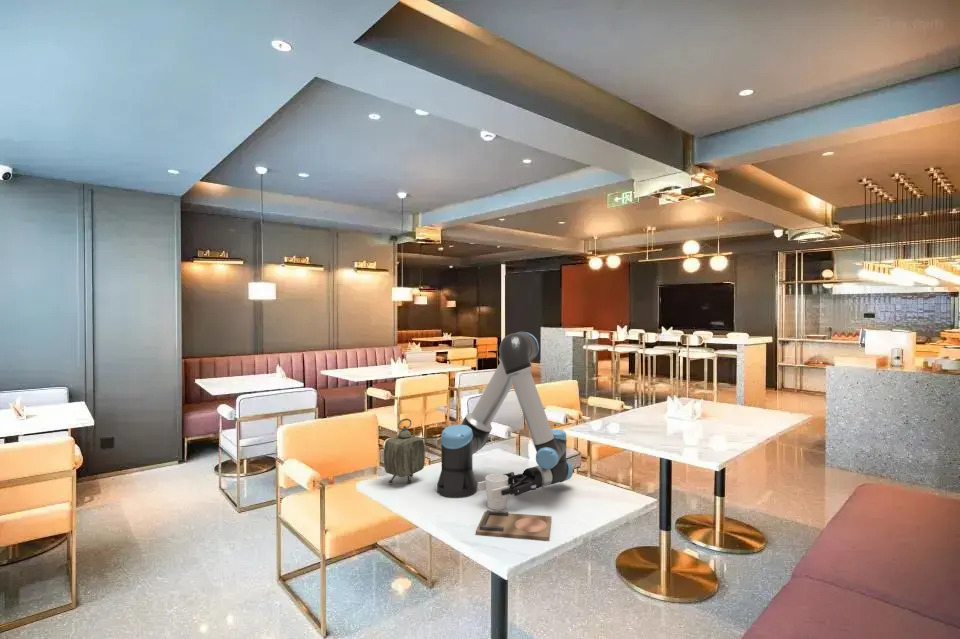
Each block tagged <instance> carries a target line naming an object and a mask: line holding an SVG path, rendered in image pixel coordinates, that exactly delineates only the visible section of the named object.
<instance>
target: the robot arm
mask: <svg viewBox="0 0 960 639" xmlns="http://www.w3.org/2000/svg"><path fill="white" fill-rule="evenodd" d="M499 344H500V345H499V349H498V351H499V356H498V361H499V364H498V365H497V368H496V369H495V371H494V372H493V374H492V376H491V378H490V380H489V382H488V384H487V385H486V386H485V389H484V390H483V392H482V394H481V396H480V397H479V399H478V401H477V404H476V405H475V407H474V408H473V409H472V410H473V411H471V412H470V413H467V414H465V417H464V418H463V420H462V422H461V424H453V425H449V426H447V427H445V428H444V429H443V430H442V431H441V436H440V437H441V438H440V444H441V446H440V449H441V452H440V453H441V455H440V456H441V459H440V460H441V461H440V462H441V471H440V475H439V477H438V480H437V484H436V492H437V493H438V495H440V496H443V497H445V498H446V497H447V498H454V499H455V498H456V499H457V498H464V497H465V498H466V497H470V496H472V495H474V494H477V492H478V491H480V492H482V491H486V480H483V481H479V482H477V479H476V476H475V473H474V470H473V468H474V467H473V455H474V454H475V453H477V452H478V451H480V450H481V449H483V448H484V447H485V446H486V444H487V443H488V440H489V436H490V433H491V431H492V429H493V427H492V422H493V420H494V419H495V417H496V416H497V413H498V411H499V410H500V408H501V406H502V405H503V403H504V401H505V400H506V398H507V395H509V392H510V390H511V388H512V387H513V390H514V392H515V395H516V397H517V401H518V403H519V406H520V408H521V412H522V414H523V417H524V420H525V422H526V425H527V429H528V431H529V434H530V437H531V440H532V443H533V445H534V448H535V451H536V453H535V462H536V464H537V465H536V466H532V467H527V468H525V469H524V470H523V471H522V473H517V474H515V472H513V471H512V472H508V473H503V475H506V476H508V486H505V487H501V488H497V489H493V490H492V498H497V497H501V496H504V495H507V496H508V495H511V496H513V495H514V497H518V496H521V495H523V494H526V493H528V492H530V491H531V492H532V491H536V490H537V489H539V488H545V487H547V486H550V485H554V484H555V485H556V484H558V483H563V482H566V481H568V480H570V479H571V478H572V477H573V475H574V469H573V467H572V464H571V462H570V461H569V460H567V442H568V440H567V433H566V431H565V430H562V429H552V427H551V425H550V423H549V420H548V417H547V416H548V415H547V414H546V411H545V408H544V406H543V403H542V400H541V397H540V395H539V391H538V388H537V386H536V383H535V381H534V380H535V379H534V378H533V375H532V371H531V369H532V367H533V366H532V363H531V362H532V361H533V360H534V359H535V358H536V357H537V355H538V353H539V350H540V347H539V346H540V345H539V342H538V339H537V338H536V337H535V336H534V335H533V334H532V333H529V332H526V331H518V332H515V333H510V334H507V335H505V336H504V337H503V339H502V340H501V342H500V343H499Z"/></svg>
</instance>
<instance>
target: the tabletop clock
mask: <svg viewBox="0 0 960 639" xmlns="http://www.w3.org/2000/svg"><path fill="white" fill-rule="evenodd" d="M404 421H408V422H409V425H408V426H406V425H404V426H402V427H403V428H401V427H400V425H401V423H402V422H404ZM411 426H412V420H411V419H410V418H403V419H401V420H400V421H399V422H398V423H397V428H398V429H399V430H400V431H399V433H398V435H394V436H392V437H390V438H388V439H386V440H385V443H384V446H383V466H384V467H383V468H384V470H385V473H387V474H390V475H392V477H391V479H390V480H388V484H389V483H392V484H393V482H394V479H395V478H396V477H400V478H406V477H407V480H406V482H407V484H411V483H412V480H411V478H412V477H414V474H416V473H418V472H420V471H422V470H423V469H424V467H425V461H426V460H425V459H426V451H425V450H426V448H425V443H424V442H425V441H424V439H423V438H422V437H420V436H415V435H412V434H411V432H410V430H408V429H409V428H410V427H411Z"/></svg>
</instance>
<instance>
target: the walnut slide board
mask: <svg viewBox="0 0 960 639" xmlns="http://www.w3.org/2000/svg"><path fill="white" fill-rule="evenodd" d="M551 526H552V516H551V515H550V516H549V515H538V514H537V515H536V514H523V513H513V512H512V513H511V512H509V511H505V510H504V511H501V510H492V509H490V510H489V509H487V510H486V511H485V510H484V512H483V514H482V516H481V519H480V521H479V523H478V525H477V527H476V530H475V535H477V536H478V535H479V536H488V537H500V538H501V537H502V538H513V539H522V540H523V539H524V540H525V539H527V540H534V539H535V541H536V540H537V541H546V540H548V541H550V537H551V536H550V534H551ZM548 541H547V542H548Z"/></svg>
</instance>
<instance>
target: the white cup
mask: <svg viewBox="0 0 960 639" xmlns="http://www.w3.org/2000/svg"><path fill="white" fill-rule="evenodd" d="M503 474H504V473H503ZM503 474H502V473H491V474H487V475H486V476H485V477H484V478H485V481H486V489H485V493H486V494H485V495H486V507H487V508H489V509H490V510H493V511H501V510H503V509H506V508H507V506H508V495H504V496H501V497H497V498H492V490H493V489H497V488H501V487H505V486H509V485H508V476H506V475H503Z"/></svg>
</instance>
